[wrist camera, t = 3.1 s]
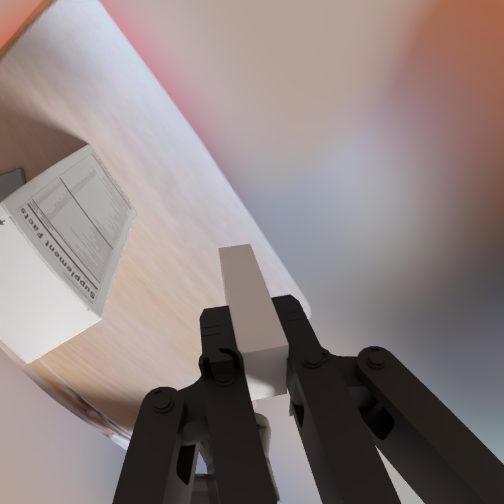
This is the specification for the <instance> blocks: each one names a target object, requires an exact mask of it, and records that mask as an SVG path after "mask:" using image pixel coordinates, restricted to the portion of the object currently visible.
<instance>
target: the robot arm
mask: <svg viewBox="0 0 504 504" xmlns="http://www.w3.org/2000/svg"><path fill="white" fill-rule="evenodd" d="M219 255H220V263H221V270H222V278H223V285H224V292H225V298H226V304H227V306H221V307H214V308H207V309H204V310H203V312H202V314H201V316H200V329H201V342H202V353H203V354H202V355H201V356H200V358H199V364H198V365H199V368H200V371H201V377H200V378H199V380H197V381H196V382H195V383H194V384H192V385H190V386H188V387H186V388H183V389H181V390H178V391H177V390H176V389H174V388H171V387H158V388H156V389H153V390H151V391H150V392H149V393H148V394H147V395H146V396H145V398H144V400H143V402H142V405H141V408H140V411H139V414H138V417H137V420H136V424H135V427H134V430H133V433H132V436H131V440H130V443H129V446H128V450H127V453H126V456H125V460H124V463H123V467H122V471H121V474H120V477H119V481H118V485H117V488H116V492H115V496H114V499H113V503H112V504H281V502H282V501H281V500H280V497H279V493H278V489H277V486H276V482H275V479H274V476H273V472H272V468H271V464H270V461H269V446H270V438H271V429H270V425H269V421H268V419H267V418H266V417H265V416H263V415H261V414H258V413H255V412H254V410H253V405H252V401H251V400H256V399H262V398H267V397H272V396H277V395H282V394H286V393H287V388H288V391H289V394H290V409H289V412H290V416H293V415H294V419H295V421H296V425H297V428H298V431H299V434H300V437H301V440H302V443H303V446H304V449H305V452H306V455H307V458H308V461H309V464H310V467H311V470H312V473H313V476H314V479H315V482H316V485H317V488H318V491H319V494H320V497H321V500H322V503H323V504H401V502H400V499H399V497H398V495H397V492H396V490H395V488H394V486H393V484H392V481H391V479H390V477H389V475H388V472H387V470H386V468H385V466H384V464H383V462H382V460H381V457H380V455H379V453H378V451H377V448H378V449H379V450H380V451H381V453H382V454H383V455H384V456H385V457H386V458H387V460H388V461H389V462H390V463H391V464H392V465H393V467H394V468H395V469H396V470H397V471H398V473H399V474H400V475H401V476H402V477H403V479H404V480H405V481H406V482H407V483H408V484H409V486H410V487H411V488H412V489H413V490H414V491H415V492H416V494H418V496H419V497H420V498H421V499H422V501H423V502H424V503H425V504H504V464H503V463H502V462H501V461H500V460H499V459H498V458H497V457H496V456H495V455H494V454H493V453H492V452H491V451H490V450H489V449H488V448H487V447H486V446H485V445H484V444H483V443H482V442H481V441H480V440H479V439H478V438H477V437H476V436H475V435H474V434H473V433H472V432H471V431H470V430H469V429H468V428H467V427H466V426H465V425H464V424H463V423H462V422H461V421H460V420H459V419H458V418H457V417H456V416H455V415H454V414H453V413H452V412H451V411H450V410H449V409H448V408H447V407H446V406H445V405H444V404H443V403H442V402H441V401H440V400H439V399H438V398H437V397H436V396H435V395H434V394H433V393H432V392H431V391H430V390H429V389H428V388H427V387H426V386H425V385H424V384H423V383H422V382H420V380H419V379H418V378H417V377H415V376H414V375H413V374H412V373H411V372H410V371H409V370H408V369H407V368H406V367H405V366H404V365H403V364H402V363H401V362H400V361H399V360H398V359H397V358H396V357H395V356H394V355H393V354H391V353H390V352H389V351H388V350H386V349H384V348H381V347H378V346H370V347H367V348H364V349H363V350H362V351H361V352H359V355H358V357H351V356H350V357H349V356H345V357H344V356H336V355H333V354H330V352H329V351H328V350H326V349H324V348H323V347H321V345H320V344H319V341H318V339H317V337H316V335H315V333H314V331H313V329H312V327H311V325H310V323H309V321H308V319H307V317H306V314H305V312H304V311H303V308H302V306H301V304H300V302H299V301H298V300H297V299H296V298H294V297H293V296H292V295H284V296H278V297H273V298H271V297H270V294H269V292H268V289H267V287H266V284H265V281H264V279H263V276H262V273H261V271H260V268H259V266H258V263H257V260H256V258H255V255H254V252H253V250H252V247H251V245H250V244H245V245H238V246H231V247H224V248H219ZM375 445H376V447H377V448H376V447H375ZM198 452H200V454H201V455H202V458H203V460H204V461H205V463H206V466H207V472H208V474H195V470H196V464H197V458H198Z"/></svg>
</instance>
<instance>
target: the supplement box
mask: <svg viewBox="0 0 504 504" xmlns="http://www.w3.org/2000/svg"><path fill="white" fill-rule="evenodd" d="M136 215H137V212H136V210H135V209H134V208H133V206H132V205H131V203H130V202H129V201H128V199H127V198H126V196H125V195H124V194H123V192H122V191H121V189H120V188H119V187H118V185H117V184H116V182H115V181H114V180H113V178H112V177H111V175H110V174H109V172H108V171H107V170H106V168H105V167H104V165H103V164H102V162H101V161H100V159H99V158H98V156H97V155H96V153H95V152H94V150H93V149H92V148H91V146H90V145H89V144H87V145H85V146H84V147H82V148H81V149H79V150H77V151H75V152H74V153H72V154H70V155H69V156H67V157H65V158H64V159H62V160H60V161H59V162H57V163H56V164H54V165H53V166H51V167H49V168H48V169H46V170H45V171H43V172H42V173H40V174H39V175H37V176H36V177H34V178H33V179H31V180H30V181H29V182H27V183H26V184H24V185H23V186H21V187H20V188H19V189H17V190H16V191H14V192H13V193H12V194H10V195H9V196H8V197H6V198H5V199H4V200H3V201H2V202H1V203H0V340H1V341H2V342H3V343H4V344H6V345H7V346H8V347H9V348H10V349H11V350H12V351H13V352H14V353H15V354H17V355H18V356H19V357H20V358H21V359H22V360H23V361H24V362H26V363H27V364H29V363H31V362H33V361H34V360H36V359H38V358H39V357H41V356H42V355H44V354H46V353H47V352H49V351H50V350H52V349H54V348H55V347H57V346H59V345H60V344H62V343H64V342H65V341H67V340H69V339H70V338H72V337H74V336H76V335H77V334H79V333H80V332H82V331H84V330H85V329H87V328H89V327H90V326H92V325H93V324H95V323H97V322H99V321H100V320H101V319H102V317H103V313H104V310H105V306H106V303H107V300H108V296H109V293H110V290H111V286H112V283H113V280H114V277H115V274H116V271H117V268H118V265H119V262H120V260H121V257H122V253H123V250H124V247H125V245H126V242H127V239H128V237H129V234H130V231H131V228H132V226H133V223H134V221H135V218H136Z"/></svg>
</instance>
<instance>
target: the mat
mask: <svg viewBox="0 0 504 504" xmlns="http://www.w3.org/2000/svg"><path fill="white" fill-rule="evenodd" d="M24 184H26V182H25V177H24V173H23V169H22V168H20V169H17V170H14V171H12V172H9V173H6V174H3V175H1V176H0V203H1V202H2V201H3V200H4V199H5V198H6V197H8V196H9V195H10V194H12V193H13V192H14V191H16V190H17V189H19V188H20V187H21V186H23V185H24Z"/></svg>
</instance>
